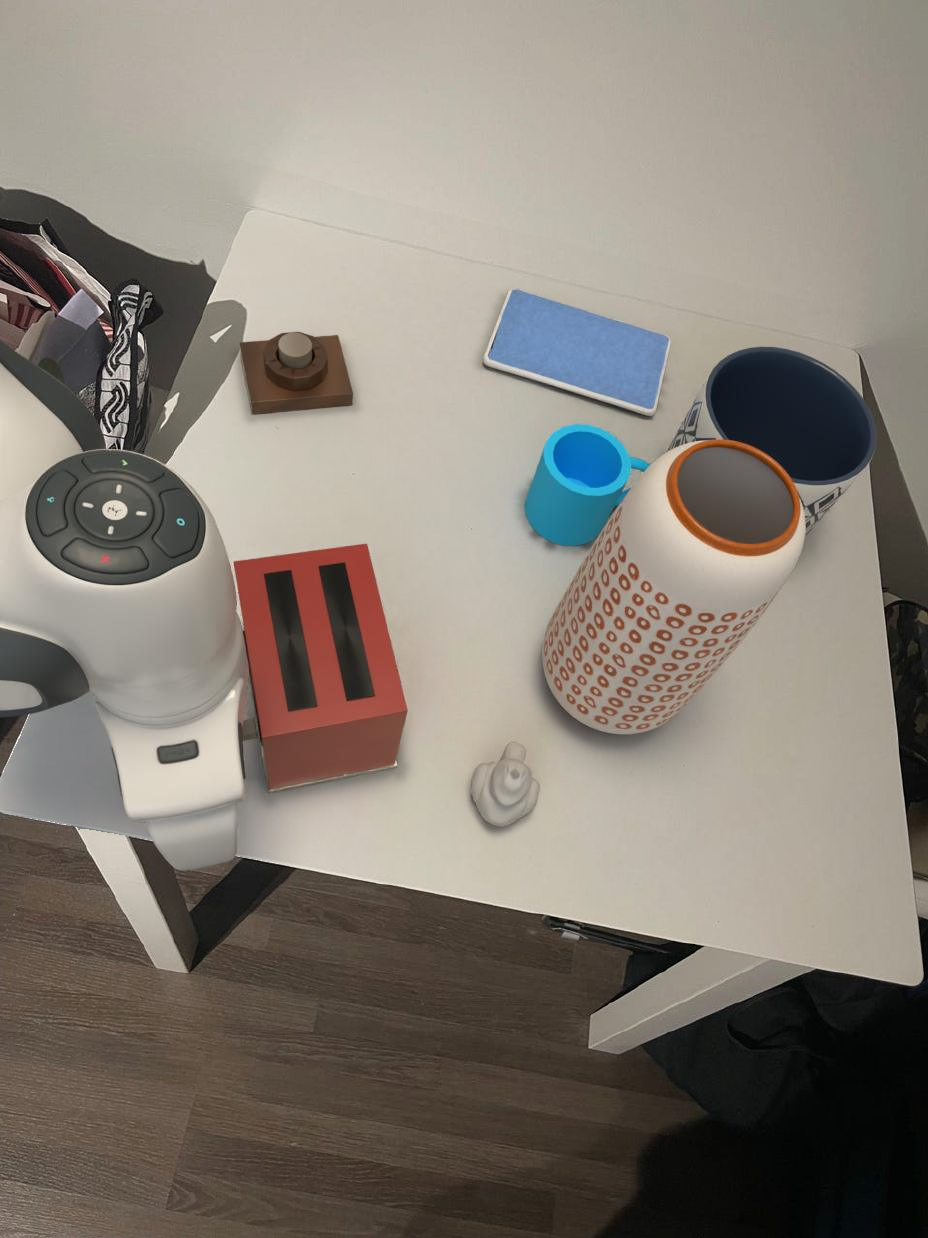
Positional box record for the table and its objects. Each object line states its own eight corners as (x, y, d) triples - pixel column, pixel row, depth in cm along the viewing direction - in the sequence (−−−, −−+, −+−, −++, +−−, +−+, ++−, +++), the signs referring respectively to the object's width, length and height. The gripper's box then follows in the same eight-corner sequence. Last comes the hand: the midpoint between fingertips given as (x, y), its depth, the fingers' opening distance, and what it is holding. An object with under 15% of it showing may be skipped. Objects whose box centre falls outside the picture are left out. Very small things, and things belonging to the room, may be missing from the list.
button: (281, 370, 84) (281, 357, 83) (276, 346, 86) (276, 333, 84) (314, 368, 85) (314, 355, 84) (309, 344, 86) (308, 330, 85)
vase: (693, 743, 75) (874, 579, 51) (546, 758, 73) (662, 593, 48) (655, 609, 81) (800, 404, 57) (518, 618, 79) (608, 408, 54)
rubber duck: (458, 821, 69) (474, 791, 62) (479, 746, 72) (496, 710, 65) (523, 841, 69) (545, 814, 62) (540, 765, 72) (564, 732, 65)
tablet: (479, 367, 93) (481, 358, 91) (508, 291, 99) (510, 282, 98) (651, 422, 93) (656, 414, 91) (669, 343, 99) (673, 334, 98)
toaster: (268, 794, 68) (258, 740, 57) (242, 633, 74) (229, 558, 63) (397, 767, 70) (411, 712, 60) (362, 614, 77) (369, 539, 66)
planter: (662, 427, 92) (716, 324, 80) (804, 473, 92) (880, 377, 80) (637, 544, 85) (693, 450, 72) (792, 594, 85) (874, 509, 72)
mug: (536, 550, 83) (556, 500, 75) (515, 481, 86) (533, 427, 79) (651, 537, 85) (681, 487, 78) (626, 471, 89) (653, 417, 82)
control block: (252, 414, 85) (249, 389, 82) (240, 354, 89) (238, 328, 86) (352, 404, 88) (353, 380, 85) (337, 346, 91) (338, 321, 88)
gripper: (100, 526, 54) (140, 627, 66) (127, 846, 46) (167, 895, 58) (204, 513, 56) (224, 614, 68) (249, 820, 47) (263, 874, 59)
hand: (198, 746), depth 63 cm, fingers open, 5 cm apart
